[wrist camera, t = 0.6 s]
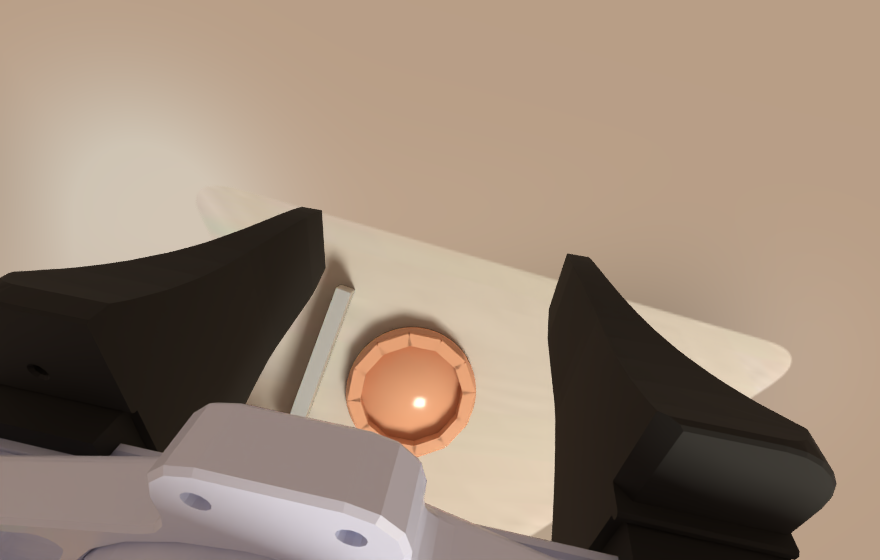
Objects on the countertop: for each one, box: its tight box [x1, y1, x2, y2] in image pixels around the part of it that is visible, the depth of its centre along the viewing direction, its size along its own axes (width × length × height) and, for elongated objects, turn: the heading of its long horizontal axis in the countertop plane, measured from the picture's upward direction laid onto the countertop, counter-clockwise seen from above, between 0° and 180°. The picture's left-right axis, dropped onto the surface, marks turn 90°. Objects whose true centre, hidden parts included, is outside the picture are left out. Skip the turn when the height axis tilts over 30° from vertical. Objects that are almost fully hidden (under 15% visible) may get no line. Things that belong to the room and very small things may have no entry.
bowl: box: [346, 327, 476, 457], centre depth 36 cm, size 11×11×2 cm
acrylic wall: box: [290, 285, 355, 418], centre depth 35 cm, size 13×1×3 cm, turn 159°
